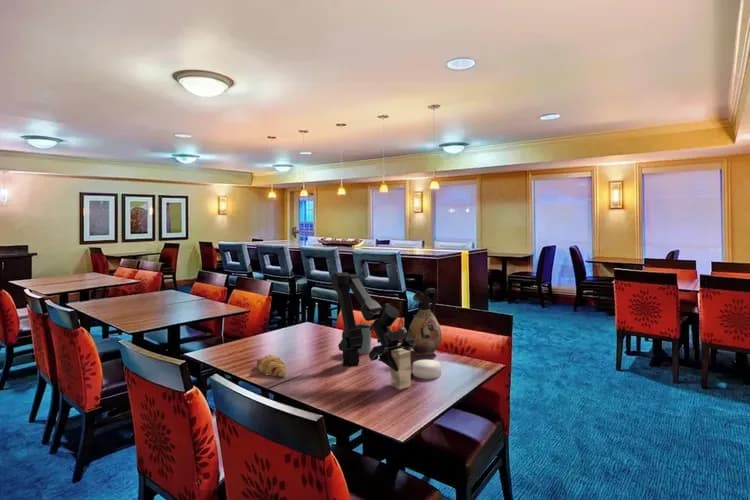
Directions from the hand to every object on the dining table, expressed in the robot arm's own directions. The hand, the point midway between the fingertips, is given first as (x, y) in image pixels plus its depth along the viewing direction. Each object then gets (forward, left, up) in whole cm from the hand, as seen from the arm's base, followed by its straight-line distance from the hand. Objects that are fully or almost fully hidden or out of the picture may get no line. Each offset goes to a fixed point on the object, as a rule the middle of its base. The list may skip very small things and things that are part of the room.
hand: (403, 369), depth 156 cm
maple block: (-1, +1, -7) cm, 7 cm away
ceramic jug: (+16, +41, -7) cm, 44 cm away
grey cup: (-14, +46, -7) cm, 48 cm away
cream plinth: (+11, +13, -7) cm, 18 cm away
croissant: (-51, +22, -7) cm, 56 cm away
